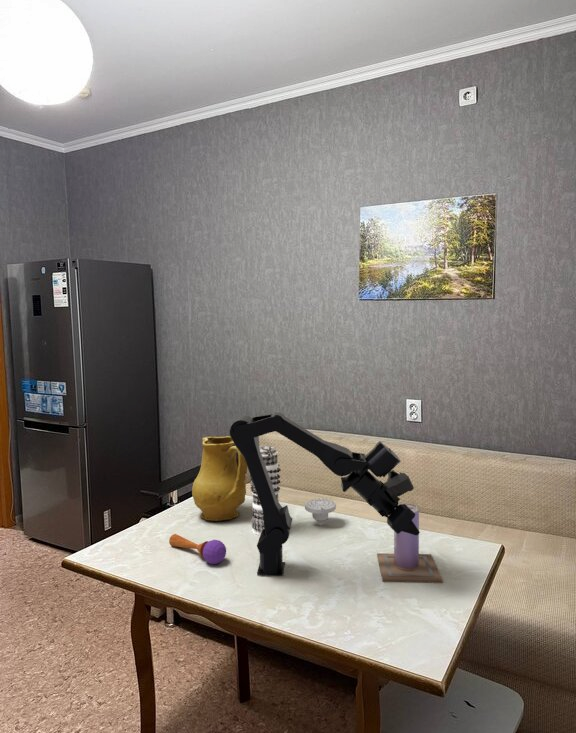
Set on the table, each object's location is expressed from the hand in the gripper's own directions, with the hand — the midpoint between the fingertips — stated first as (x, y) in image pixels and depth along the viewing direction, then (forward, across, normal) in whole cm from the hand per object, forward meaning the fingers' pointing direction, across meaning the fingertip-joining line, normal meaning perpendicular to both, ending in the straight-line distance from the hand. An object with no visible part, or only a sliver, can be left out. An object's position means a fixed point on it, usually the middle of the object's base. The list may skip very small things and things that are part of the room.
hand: (413, 529), depth 132 cm
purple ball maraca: (-31, +17, +45) cm, 57 cm away
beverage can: (+5, 0, +8) cm, 10 cm away
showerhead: (-5, +32, +19) cm, 38 cm away
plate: (+6, 0, +8) cm, 10 cm away
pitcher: (-26, +44, +40) cm, 66 cm away
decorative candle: (-17, +30, +31) cm, 47 cm away
